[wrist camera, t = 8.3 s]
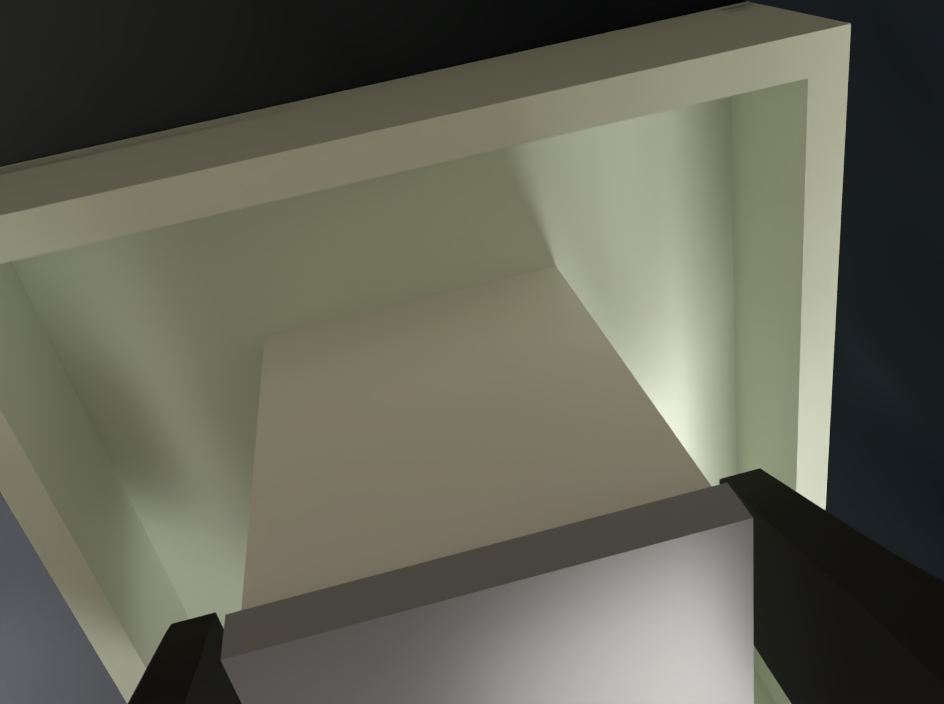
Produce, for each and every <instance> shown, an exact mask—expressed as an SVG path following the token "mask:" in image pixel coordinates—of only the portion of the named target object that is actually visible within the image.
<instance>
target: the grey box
mask: <svg viewBox="0 0 944 704" xmlns="http://www.w3.org/2000/svg"><path fill="white" fill-rule="evenodd" d="M221 662H222V664H223V666H224V668H225V670H226V672H227V675H228V677H229V679H230V681H231V683H232V685H233V687H234V689H235V691H236V693H237V695H238V697H239V699H240V701H241V703H242V704H754V617H753V517H752V516H751V514H750V513H749V512H748V510H747V509H746V507H745V506H744V505H743V503H742V502H741V501H740V499H739V498H738V497H737V495H736V494H735V493H734V491H733V490H732V489H731V487H730V486H729V484H728V483H723V484H719V485H716V486H711V485H710V483H709V482H708V480H707V479H706V478H705V476H704V475H703V473H702V472H701V470H700V469H699V468H698V466H697V465H696V463H695V462H694V461H693V459H692V458H691V456H690V455H689V454H688V452H687V451H686V449H685V448H684V446H683V445H682V444H681V442H680V441H679V439H678V438H677V437H676V435H675V434H674V432H673V431H672V429H671V428H670V427H669V425H668V424H667V422H666V421H665V420H664V418H663V417H662V415H661V414H660V413H659V411H658V410H657V408H656V407H655V405H654V404H653V403H652V401H651V400H650V398H649V397H648V396H647V394H646V393H645V391H644V390H643V388H642V387H641V386H640V384H639V383H638V381H637V380H636V379H635V377H634V376H633V374H632V373H631V371H630V370H629V369H628V367H627V366H626V364H625V363H624V362H623V360H622V359H621V357H620V356H619V355H618V353H617V352H616V350H615V349H614V347H613V346H612V345H611V343H610V342H609V340H608V339H607V338H606V336H605V335H604V333H603V332H602V330H601V329H600V328H599V326H598V325H597V323H596V322H595V321H594V319H593V318H592V316H591V315H590V314H589V312H588V311H587V309H586V308H585V306H584V305H583V304H582V302H581V301H580V299H579V298H578V297H577V295H576V294H575V292H574V291H573V289H572V288H571V287H570V285H569V284H568V282H567V281H566V280H565V278H564V277H563V275H562V274H561V272H560V271H559V270H558V268H557V267H556V266H553V267H549V268H545V269H541V270H537V271H533V272H528V273H524V274H520V275H516V276H512V277H508V278H503V279H499V280H495V281H491V282H487V283H483V284H478V285H474V286H470V287H466V288H462V289H457V290H453V291H449V292H445V293H441V294H437V295H432V296H428V297H424V298H420V299H416V300H412V301H407V302H403V303H399V304H395V305H391V306H387V307H382V308H378V309H374V310H370V311H366V312H361V313H357V314H353V315H349V316H345V317H341V318H336V319H332V320H328V321H324V322H320V323H316V324H311V325H307V326H303V327H299V328H295V329H291V330H286V331H282V332H278V333H274V334H270V335H265V340H264V351H263V363H262V375H261V386H260V398H259V409H258V421H257V433H256V444H255V456H254V468H253V479H252V491H251V503H250V514H249V526H248V537H247V549H246V561H245V572H244V584H243V596H242V607H241V611H237V612H233V613H229V614H226V615H225V623H224V633H223V642H222V651H221Z"/></svg>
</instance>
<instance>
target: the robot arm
mask: <svg viewBox="0 0 944 704" xmlns="http://www.w3.org/2000/svg"><path fill="white" fill-rule="evenodd" d="M719 483H720V484H723V483H728V484H729V486H730V487H731V489H732V490H733V491H734V493H735V494H736V495H737V497H738V498H739V499H740V501H741V502H742V503H743V505H744V506H745V507H746V509H747V510H748V512H749V513H750V514H751V516H752V517H753V617H754V646H755V648H756V650H757V651H758V653H759V654H760V656H761V657H762V659H763V661H764V662H765V664H766V665H767V667H768V668H769V670H770V671H771V673H772V675H773V676H774V678H775V679H776V681H777V682H778V684H779V685H780V687H781V688H782V690H783V691H784V693H785V695H786V696H787V698H788V699H789V701H790V702H791V704H944V581H942V580H940V579H938V578H936V577H934V576H932V575H931V574H929V573H927V572H925V571H924V570H922V569H920V568H918V567H917V566H915V565H913V564H911V563H910V562H908V561H906V560H905V559H903V558H901V557H900V556H898V555H896V554H895V553H893V552H891V551H890V550H888V549H886V548H885V547H883V546H881V545H880V544H878V543H876V542H875V541H873V540H871V539H870V538H868V537H866V536H865V535H863V534H862V533H860V532H858V531H857V530H855V529H854V528H852V527H850V526H849V525H847V524H846V523H844V522H843V521H841V520H839V519H838V518H836V517H835V516H833V515H832V514H830V513H829V512H827V511H825V510H824V509H822V508H821V507H819V506H818V505H816V504H815V503H813V502H812V501H810V500H808V499H807V498H805V497H804V496H802V495H801V494H799V493H798V492H796V491H795V490H793V489H792V488H790V487H789V486H787V485H785V484H784V483H782V482H781V481H779V480H778V479H776V478H775V477H773V476H771V475H770V474H768V473H767V472H765V471H764V470H762V469H761V468H759V469H755V470H751V471H748V472H744V473H740V474H736V475H733V476H729V477H725V478H721V479H719ZM223 633H224V629H223V626H222V624H221V622H220V620H219V618H218V616H217V614H216V612H214V613H211V614H207V615H203V616H199V617H195V618H192V619H188V620H184V621H180V622H177V623H173V624H171V625H170V627H169V628H168V630H167V631H166V633H165V635H164V636H163V638H162V640H161V642H160V644H159V646H158V648H157V649H156V651H155V653H154V655H153V657H152V659H151V661H150V663H149V665H148V666H147V668H146V670H145V672H144V674H143V676H142V678H141V680H140V681H139V683H138V685H137V687H136V689H135V691H134V693H133V695H132V696H131V698H130V700H129V702H128V704H242V703H241V701H240V699H239V697H238V695H237V693H236V691H235V689H234V687H233V685H232V683H231V681H230V679H229V677H228V675H227V672H226V670H225V668H224V666H223V664H222V662H221V651H222V642H223Z"/></svg>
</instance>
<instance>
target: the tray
mask: <svg viewBox="0 0 944 704" xmlns="http://www.w3.org/2000/svg"><path fill="white" fill-rule="evenodd" d="M850 33H851V24H850V23H846V22H841V21H836V20H832V19H827V18H822V17H817V16H813V15H808V14H803V13H799V12H794V11H789V10H785V9H780V8H775V7H771V6H766V5H761V4H757V3H752V2H743V3H738V4H734V5H729V6H724V7H720V8H715V9H711V10H706V11H702V12H697V13H693V14H688V15H684V16H679V17H675V18H670V19H666V20H661V21H657V22H652V23H648V24H643V25H639V26H634V27H630V28H625V29H621V30H616V31H612V32H607V33H603V34H598V35H594V36H589V37H585V38H580V39H575V40H571V41H566V42H562V43H557V44H553V45H548V46H544V47H539V48H535V49H530V50H526V51H521V52H517V53H512V54H508V55H503V56H499V57H494V58H490V59H485V60H481V61H476V62H472V63H467V64H463V65H458V66H454V67H449V68H445V69H440V70H436V71H431V72H427V73H422V74H417V75H413V76H408V77H404V78H399V79H395V80H390V81H386V82H381V83H377V84H372V85H368V86H363V87H359V88H354V89H350V90H345V91H341V92H336V93H332V94H327V95H323V96H318V97H314V98H309V99H305V100H300V101H296V102H291V103H287V104H282V105H278V106H273V107H268V108H264V109H259V110H255V111H250V112H246V113H241V114H237V115H232V116H228V117H223V118H219V119H214V120H210V121H205V122H201V123H196V124H192V125H187V126H183V127H178V128H174V129H169V130H165V131H160V132H156V133H151V134H147V135H142V136H138V137H133V138H129V139H124V140H120V141H115V142H110V143H106V144H101V145H97V146H92V147H88V148H83V149H79V150H74V151H70V152H65V153H61V154H56V155H52V156H47V157H43V158H38V159H34V160H29V161H25V162H20V163H16V164H11V165H7V166H2V167H0V492H1V494H2V496H3V497H4V499H5V501H6V502H7V504H8V506H9V507H10V509H11V511H12V512H13V514H14V516H15V517H16V519H17V521H18V522H19V524H20V526H21V528H22V529H23V531H24V533H25V534H26V536H27V538H28V539H29V541H30V543H31V544H32V546H33V548H34V549H35V551H36V553H37V554H38V556H39V558H40V559H41V561H42V563H43V564H44V566H45V568H46V569H47V571H48V573H49V574H50V576H51V578H52V579H53V581H54V583H55V584H56V586H57V588H58V589H59V591H60V593H61V594H62V596H63V598H64V599H65V601H66V603H67V604H68V606H69V608H70V609H71V611H72V613H73V614H74V616H75V618H76V619H77V621H78V623H79V624H80V626H81V628H82V629H83V631H84V633H85V634H86V636H87V638H88V639H89V641H90V643H91V644H92V646H93V648H94V649H95V651H96V653H97V654H98V656H99V658H100V659H101V661H102V663H103V664H104V666H105V668H106V669H107V671H108V673H109V674H110V676H111V678H112V679H113V681H114V683H115V684H116V686H117V688H118V689H119V691H120V693H121V694H122V696H123V698H124V699H125V701H126V703H127V704H128V702H129V700H130V698H131V696H132V695H133V693H134V691H135V689H136V687H137V685H138V683H139V681H140V680H141V678H142V676H143V674H144V672H145V670H146V668H147V666H148V665H149V663H150V661H151V659H152V657H153V655H154V653H155V651H156V649H157V648H158V646H159V644H160V642H161V640H162V638H163V636H164V635H165V633H166V631H167V630H168V628H169V627H170V625H171V624H173V623H177V622H180V621H184V620H188V619H192V618H195V617H199V616H203V615H207V614H211V613H214V612H216V614H217V616H218V618H219V620H220V622H221V624H222V626H223V629H224V623H225V615H226V614H229V613H233V612H237V611H241V607H242V596H243V584H244V572H245V561H246V549H247V537H248V526H249V514H250V503H251V491H252V479H253V468H254V456H255V444H256V433H257V421H258V409H259V398H260V386H261V375H262V363H263V351H264V340H265V335H270V334H274V333H278V332H282V331H286V330H291V329H295V328H299V327H303V326H307V325H311V324H316V323H320V322H324V321H328V320H332V319H336V318H341V317H345V316H349V315H353V314H357V313H361V312H366V311H370V310H374V309H378V308H382V307H387V306H391V305H395V304H399V303H403V302H407V301H412V300H416V299H420V298H424V297H428V296H432V295H437V294H441V293H445V292H449V291H453V290H457V289H462V288H466V287H470V286H474V285H478V284H483V283H487V282H491V281H495V280H499V279H503V278H508V277H512V276H516V275H520V274H524V273H528V272H533V271H537V270H541V269H545V268H549V267H553V266H556V267H557V268H558V270H559V271H560V272H561V274H562V275H563V277H564V278H565V280H566V281H567V282H568V284H569V285H570V287H571V288H572V289H573V291H574V292H575V294H576V295H577V297H578V298H579V299H580V301H581V302H582V304H583V305H584V306H585V308H586V309H587V311H588V312H589V314H590V315H591V316H592V318H593V319H594V321H595V322H596V323H597V325H598V326H599V328H600V329H601V330H602V332H603V333H604V335H605V336H606V338H607V339H608V340H609V342H610V343H611V345H612V346H613V347H614V349H615V350H616V352H617V353H618V355H619V356H620V357H621V359H622V360H623V362H624V363H625V364H626V366H627V367H628V369H629V370H630V371H631V373H632V374H633V376H634V377H635V379H636V380H637V381H638V383H639V384H640V386H641V387H642V388H643V390H644V391H645V393H646V394H647V396H648V397H649V398H650V400H651V401H652V403H653V404H654V405H655V407H656V408H657V410H658V411H659V413H660V414H661V415H662V417H663V418H664V420H665V421H666V422H667V424H668V425H669V427H670V428H671V429H672V431H673V432H674V434H675V435H676V437H677V438H678V439H679V441H680V442H681V444H682V445H683V446H684V448H685V449H686V451H687V452H688V454H689V455H690V456H691V458H692V459H693V461H694V462H695V463H696V465H697V466H698V468H699V469H700V470H701V472H702V473H703V475H704V476H705V478H706V479H707V480H708V482H709V483H710V485H711V486H716V485H719V484H720V483H719V479H721V478H725V477H729V476H733V475H736V474H740V473H744V472H748V471H751V470H755V469H759V468H761V469H762V470H764V471H765V472H767V473H768V474H770V475H771V476H773V477H775V478H776V479H778V480H779V481H781V482H782V483H784V484H785V485H787V486H789V487H790V488H792V489H793V490H795V491H796V492H798V493H799V494H801V495H802V496H804V497H805V498H807V499H808V500H810V501H812V502H813V503H815V504H816V505H818V506H819V507H821V508H822V509H824V510H825V509H826V490H827V471H828V452H829V433H830V414H831V395H832V376H833V357H834V338H835V319H836V300H837V281H838V262H839V243H840V224H841V204H842V185H843V166H844V147H845V128H846V109H847V90H848V71H849V52H850ZM754 704H791V702H790V701H789V699H788V698H787V696H786V695H785V693H784V691H783V690H782V688H781V687H780V685H779V684H778V682H777V681H776V679H775V678H774V676H773V675H772V673H771V671H770V670H769V668H768V667H767V665H766V664H765V662H764V661H763V659H762V657H761V656H760V654H759V653H758V651H757V650H756V648H755V646H754Z"/></svg>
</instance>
